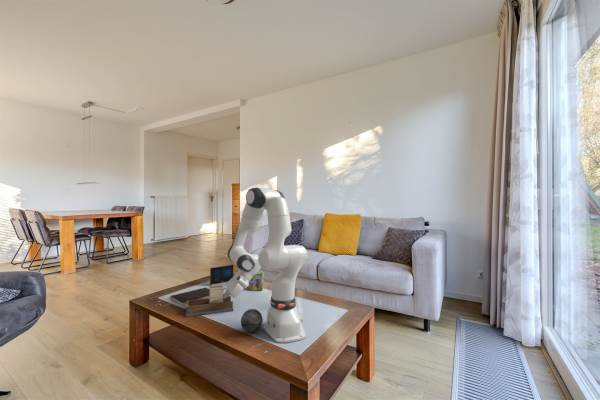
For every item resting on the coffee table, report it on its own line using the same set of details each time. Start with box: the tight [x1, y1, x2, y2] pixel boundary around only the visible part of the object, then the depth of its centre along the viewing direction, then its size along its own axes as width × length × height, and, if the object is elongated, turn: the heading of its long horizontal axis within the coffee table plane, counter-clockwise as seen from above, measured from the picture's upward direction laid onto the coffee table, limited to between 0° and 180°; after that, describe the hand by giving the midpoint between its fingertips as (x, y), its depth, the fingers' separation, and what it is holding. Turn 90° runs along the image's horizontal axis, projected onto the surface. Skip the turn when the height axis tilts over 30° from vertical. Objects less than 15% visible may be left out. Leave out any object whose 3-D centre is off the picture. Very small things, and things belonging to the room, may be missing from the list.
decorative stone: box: [240, 308, 264, 333], centre depth 126 cm, size 10×10×10 cm
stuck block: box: [209, 285, 224, 304], centre depth 152 cm, size 7×7×10 cm
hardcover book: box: [169, 287, 210, 306], centre depth 169 cm, size 16×23×2 cm
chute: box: [185, 295, 234, 318], centre depth 151 cm, size 16×24×4 cm, turn 111°
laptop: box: [209, 264, 234, 290], centre depth 192 cm, size 18×12×13 cm
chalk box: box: [248, 270, 265, 291], centre depth 187 cm, size 9×9×15 cm
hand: (223, 297), depth 154 cm, fingers closed, pressing on stuck block
